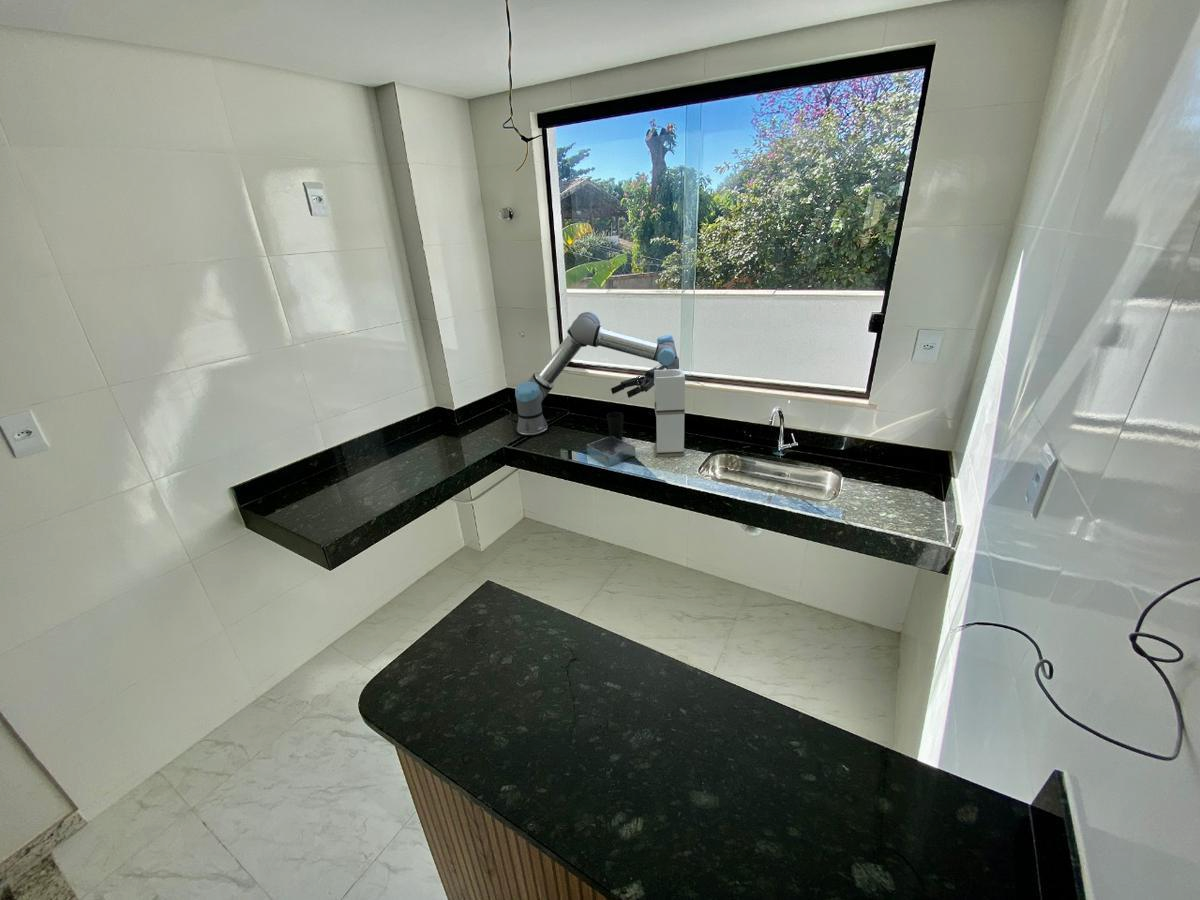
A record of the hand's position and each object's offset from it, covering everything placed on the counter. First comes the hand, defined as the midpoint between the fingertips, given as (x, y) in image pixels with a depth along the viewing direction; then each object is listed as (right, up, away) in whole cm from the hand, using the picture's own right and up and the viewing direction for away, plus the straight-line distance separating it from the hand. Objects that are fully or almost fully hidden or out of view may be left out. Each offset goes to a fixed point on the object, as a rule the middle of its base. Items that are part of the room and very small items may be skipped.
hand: (619, 393), depth 219 cm
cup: (-1, -21, +7) cm, 22 cm away
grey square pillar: (+21, -26, -8) cm, 35 cm away
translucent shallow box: (-4, -28, -8) cm, 29 cm away
